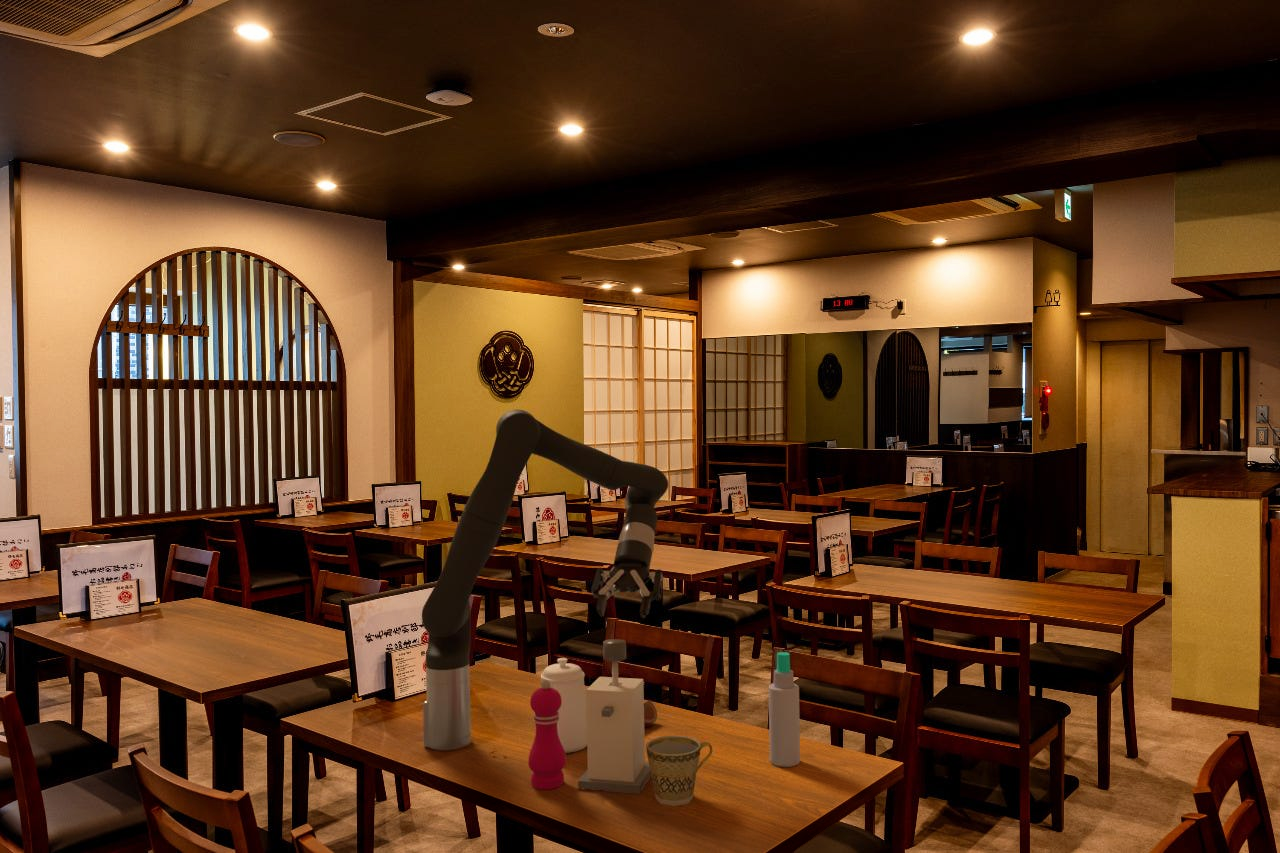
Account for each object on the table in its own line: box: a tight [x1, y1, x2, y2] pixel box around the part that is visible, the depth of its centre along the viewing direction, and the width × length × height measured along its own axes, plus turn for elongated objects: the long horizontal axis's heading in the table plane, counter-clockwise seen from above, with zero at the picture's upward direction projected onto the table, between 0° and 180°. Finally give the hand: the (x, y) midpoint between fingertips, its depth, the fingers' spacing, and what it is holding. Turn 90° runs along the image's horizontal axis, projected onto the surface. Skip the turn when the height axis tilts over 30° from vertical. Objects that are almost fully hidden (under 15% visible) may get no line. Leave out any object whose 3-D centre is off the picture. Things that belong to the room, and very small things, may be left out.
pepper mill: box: [528, 680, 567, 790], centre depth 182 cm, size 7×7×20 cm
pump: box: [602, 638, 627, 686], centre depth 183 cm, size 4×4×21 cm
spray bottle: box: [768, 651, 801, 768], centre depth 191 cm, size 6×6×22 cm
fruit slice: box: [644, 699, 658, 728], centre depth 214 cm, size 8×7×5 cm
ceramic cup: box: [645, 735, 713, 807], centre depth 174 cm, size 13×10×10 cm
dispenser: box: [577, 676, 652, 795], centre depth 183 cm, size 12×13×18 cm
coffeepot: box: [540, 657, 587, 754], centre depth 202 cm, size 11×25×19 cm, turn 168°
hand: (621, 614), depth 188 cm, fingers open, 8 cm apart
